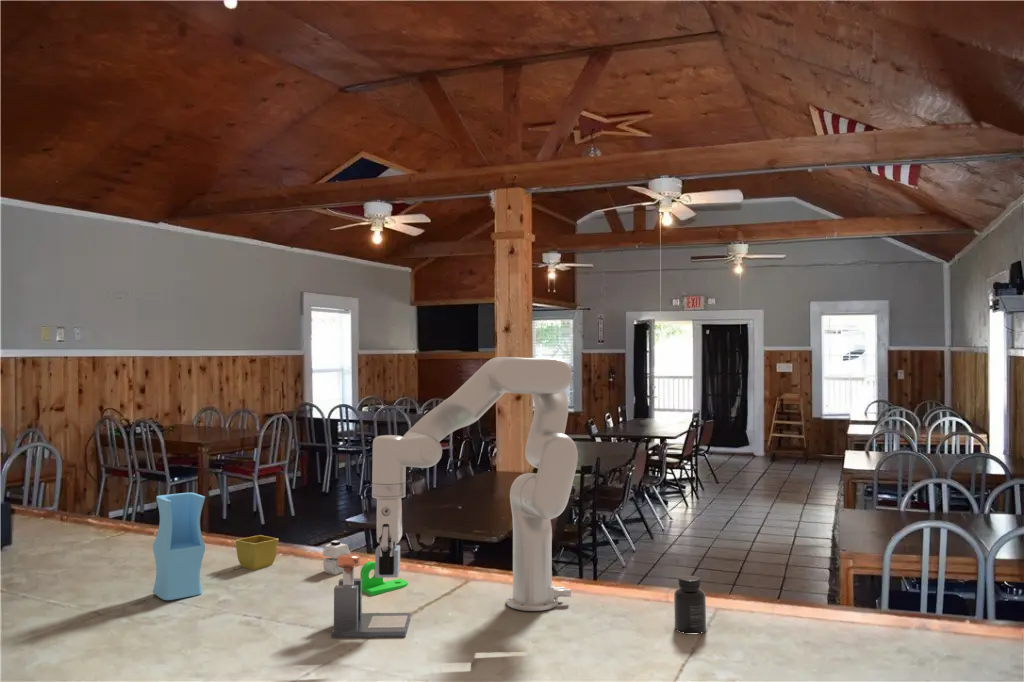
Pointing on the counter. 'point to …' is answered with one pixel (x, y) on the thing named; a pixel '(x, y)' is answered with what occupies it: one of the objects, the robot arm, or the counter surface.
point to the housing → (396, 562)
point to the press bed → (363, 616)
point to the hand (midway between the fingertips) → (387, 570)
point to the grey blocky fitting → (334, 556)
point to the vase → (178, 546)
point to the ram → (348, 566)
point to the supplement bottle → (690, 606)
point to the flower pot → (256, 551)
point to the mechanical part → (378, 581)
